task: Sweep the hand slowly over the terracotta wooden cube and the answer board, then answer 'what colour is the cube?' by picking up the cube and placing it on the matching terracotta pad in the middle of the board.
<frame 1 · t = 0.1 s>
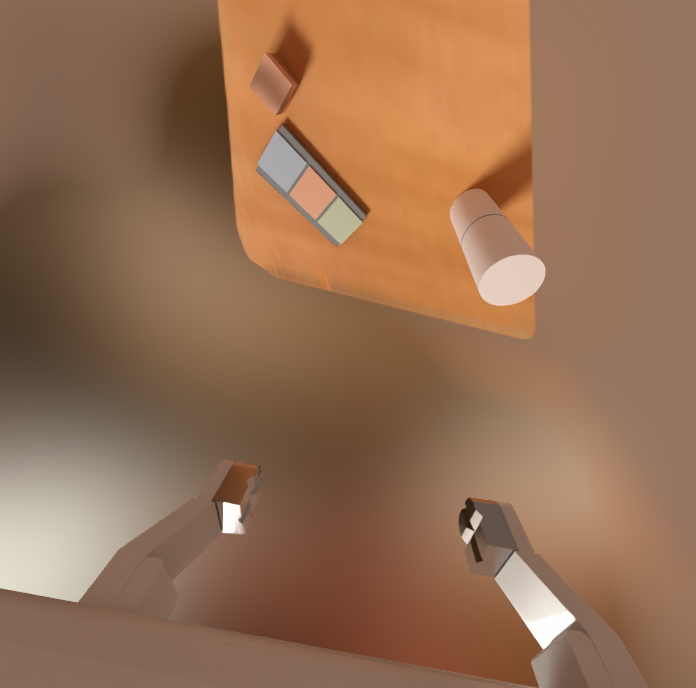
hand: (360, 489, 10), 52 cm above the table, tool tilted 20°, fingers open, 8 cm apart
cylindrical container: (469, 209, 50), on the table
terracotta cube: (280, 85, 41), on the table
answer board: (314, 192, 51), on the table
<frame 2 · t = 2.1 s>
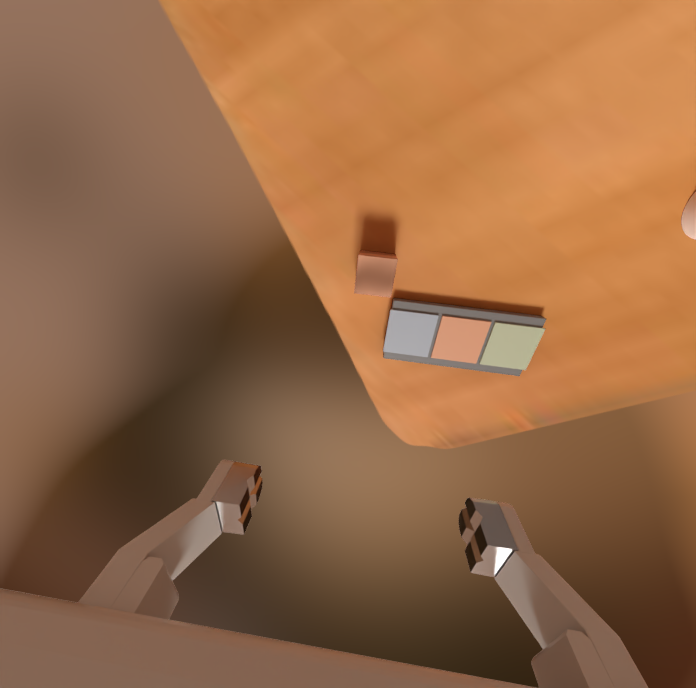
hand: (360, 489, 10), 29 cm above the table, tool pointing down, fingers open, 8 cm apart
terracotta cube: (375, 269, 35), on the table
answer board: (457, 336, 38), on the table
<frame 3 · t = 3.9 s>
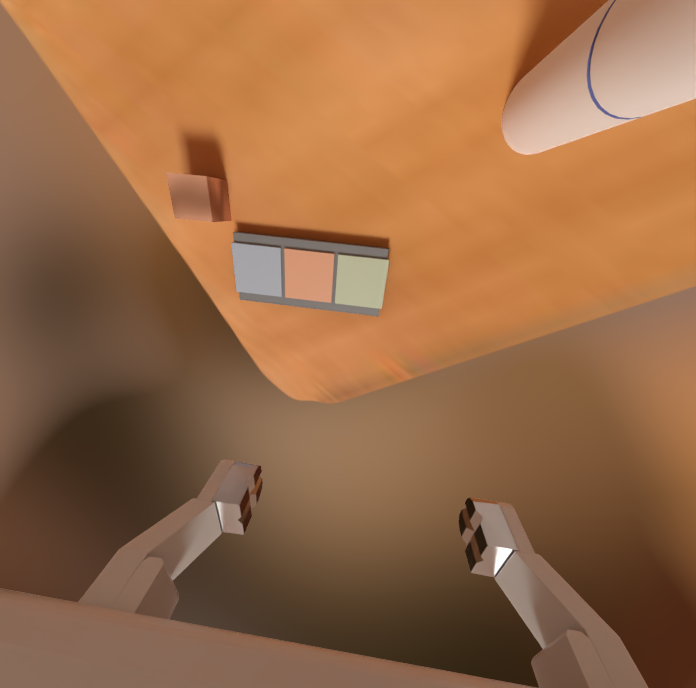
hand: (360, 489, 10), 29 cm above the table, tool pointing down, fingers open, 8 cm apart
cylindrical container: (538, 112, 27), on the table
terracotta cube: (212, 199, 33), on the table
answer board: (311, 274, 36), on the table
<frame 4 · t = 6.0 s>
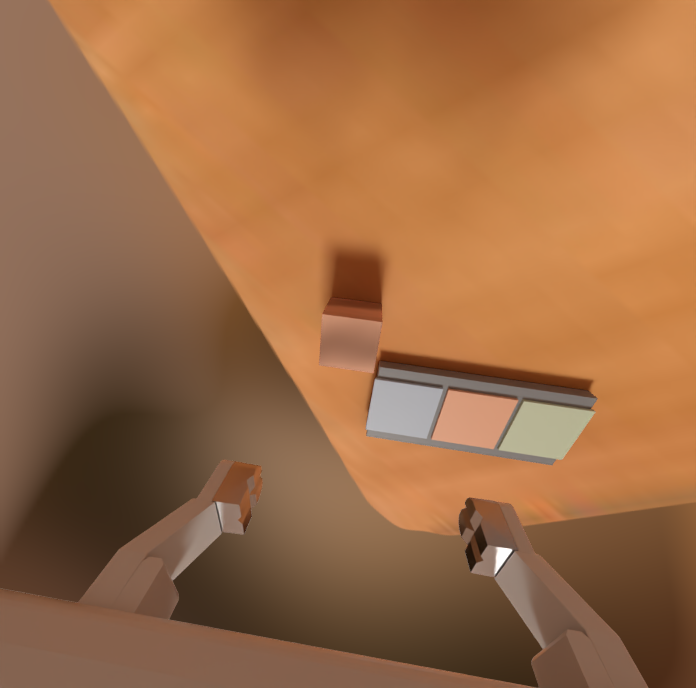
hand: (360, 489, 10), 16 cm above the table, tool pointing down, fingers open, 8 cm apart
terracotta cube: (353, 323, 24), on the table
answer board: (467, 411, 27), on the table
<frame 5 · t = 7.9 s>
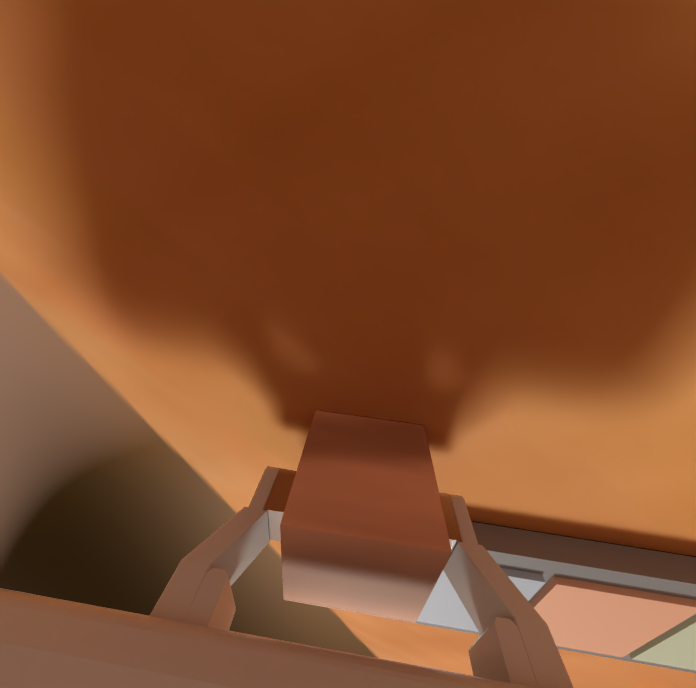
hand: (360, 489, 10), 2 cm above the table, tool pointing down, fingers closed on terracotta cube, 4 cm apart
terracotta cube: (363, 455, 12), on the table, touching gripper
answer board: (573, 587, 15), on the table
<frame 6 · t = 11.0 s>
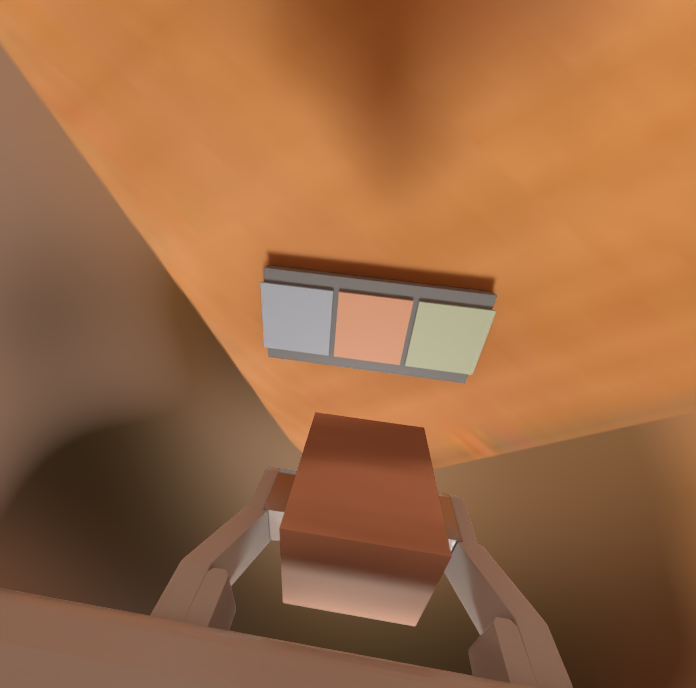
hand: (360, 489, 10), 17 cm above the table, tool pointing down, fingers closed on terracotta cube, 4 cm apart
terracotta cube: (362, 457, 12), point 15 cm above the table, touching gripper
answer board: (371, 324, 26), on the table
when the fingers open (5 cm above the table, at t = 13.9 s): terracotta cube drops 1 cm, resting on answer board.
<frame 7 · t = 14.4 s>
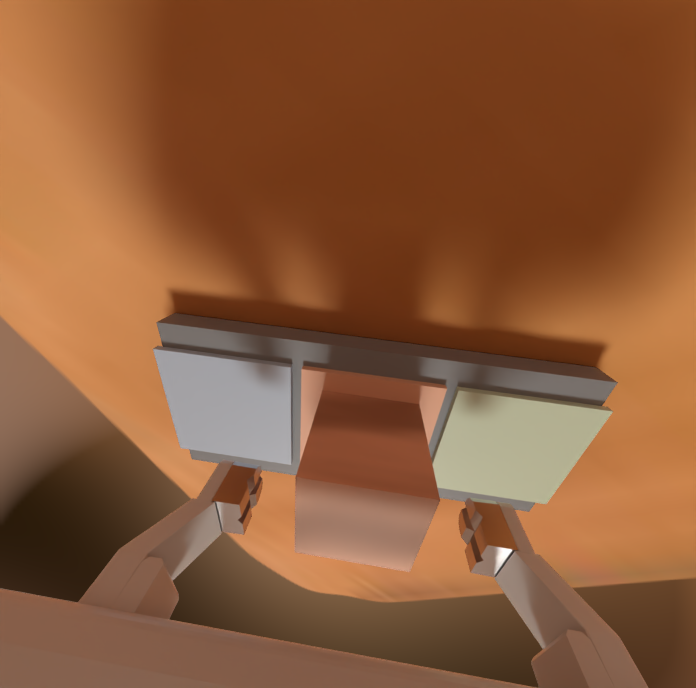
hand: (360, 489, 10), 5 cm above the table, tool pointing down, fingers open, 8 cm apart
terracotta cube: (364, 432, 13), point 1 cm above the table, touching answer board
answer board: (365, 412, 14), on the table
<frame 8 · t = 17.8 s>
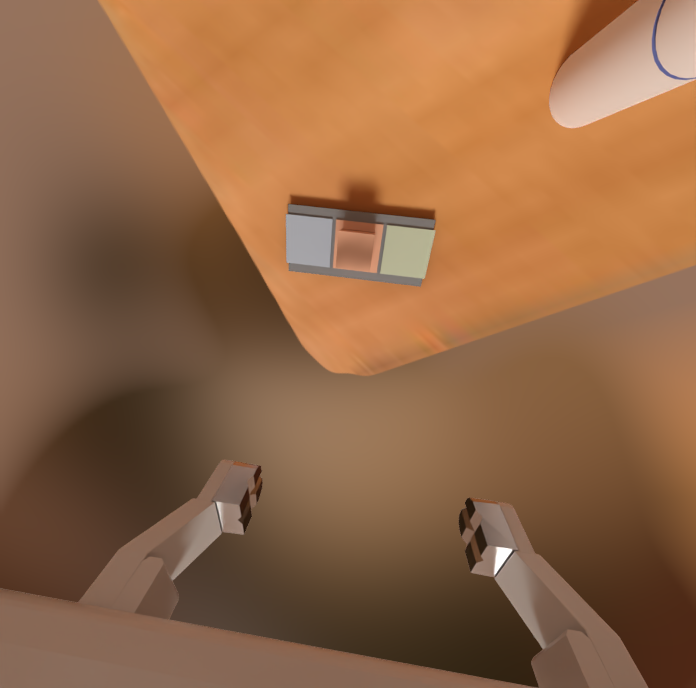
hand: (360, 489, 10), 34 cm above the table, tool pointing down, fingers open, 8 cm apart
cylindrical container: (584, 87, 29), on the table
terracotta cube: (357, 247, 37), point 1 cm above the table, touching answer board
answer board: (357, 246, 39), on the table
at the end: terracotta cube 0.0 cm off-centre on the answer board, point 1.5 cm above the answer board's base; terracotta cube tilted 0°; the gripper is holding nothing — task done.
